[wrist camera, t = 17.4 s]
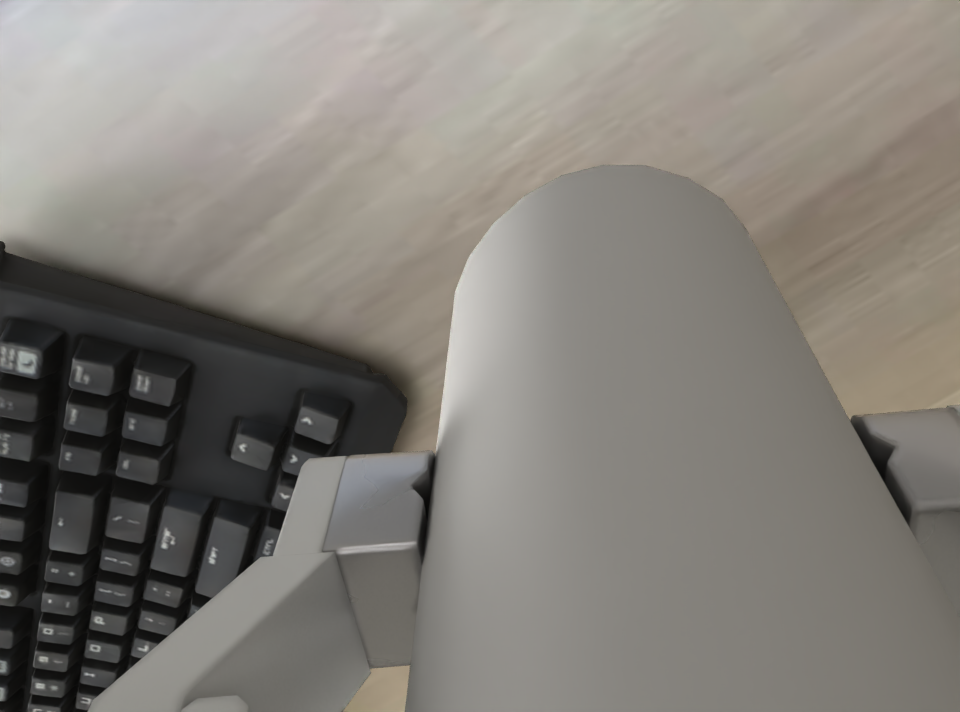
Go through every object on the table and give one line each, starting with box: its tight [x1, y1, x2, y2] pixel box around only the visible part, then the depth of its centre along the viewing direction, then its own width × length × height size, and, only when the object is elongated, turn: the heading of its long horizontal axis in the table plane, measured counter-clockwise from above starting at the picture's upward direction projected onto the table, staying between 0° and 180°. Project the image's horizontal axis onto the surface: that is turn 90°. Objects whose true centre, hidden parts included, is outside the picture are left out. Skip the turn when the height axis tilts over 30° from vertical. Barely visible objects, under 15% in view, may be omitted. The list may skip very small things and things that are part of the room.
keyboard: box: [0, 241, 407, 712], centre depth 39 cm, size 37×22×5 cm, turn 160°
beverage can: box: [405, 165, 960, 712], centre depth 9 cm, size 5×5×12 cm
